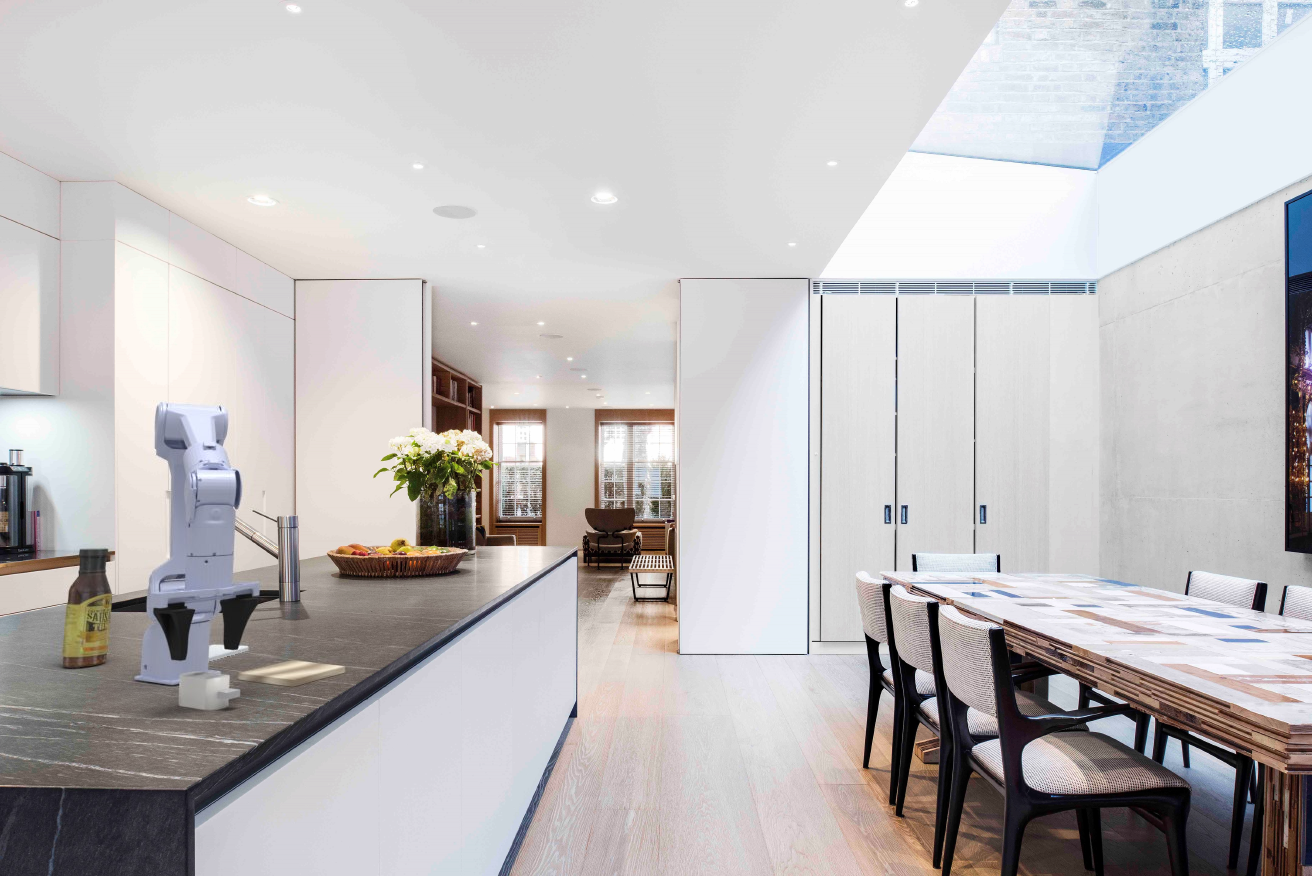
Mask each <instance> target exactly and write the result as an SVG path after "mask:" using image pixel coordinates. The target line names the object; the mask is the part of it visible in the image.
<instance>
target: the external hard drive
mask: <svg viewBox="0 0 1312 876" xmlns="http://www.w3.org/2000/svg"><path fill="white" fill-rule="evenodd" d="M245 651H250V648H249V646H248V645H239V648H238V650H227V649H224V644H209V661H212V662H214V661H213V660H216V661H218V660H217V659H219V660H221V659H220V658H223V659H225V658H224V657H227V656H230V657H232V656H231V655H234V656H236V655H235V654H238V653H241V654H243V653H242V652H245ZM245 653H246V652H245ZM238 655H239V654H238ZM227 658H228V657H227Z"/></svg>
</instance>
